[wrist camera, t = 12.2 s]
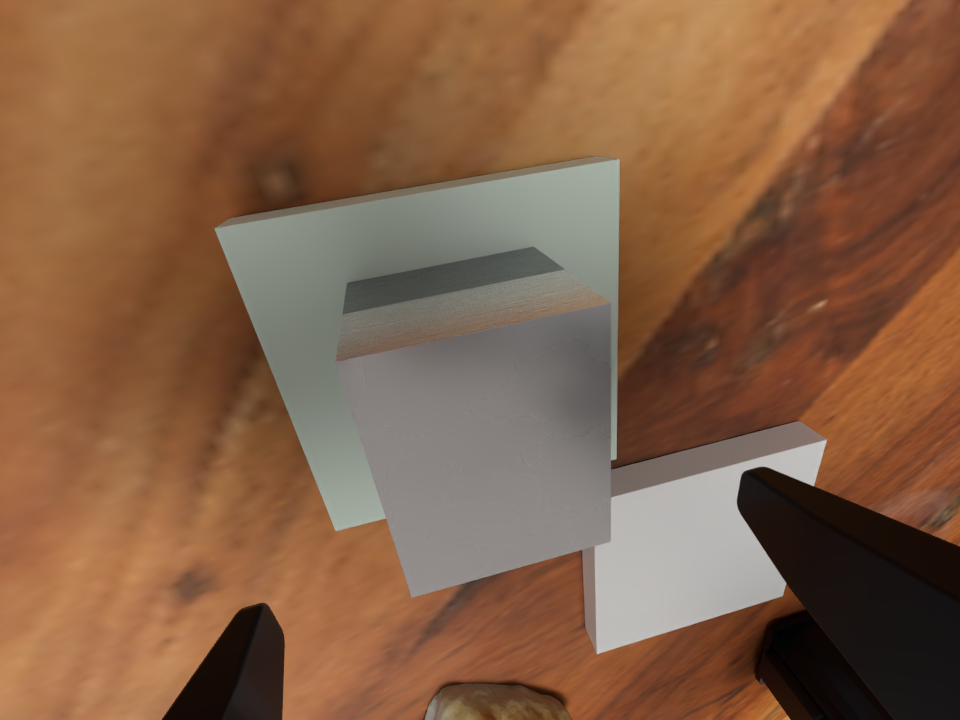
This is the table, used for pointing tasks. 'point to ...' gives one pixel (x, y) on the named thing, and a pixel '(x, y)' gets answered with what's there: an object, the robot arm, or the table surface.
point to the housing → (482, 412)
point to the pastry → (494, 704)
